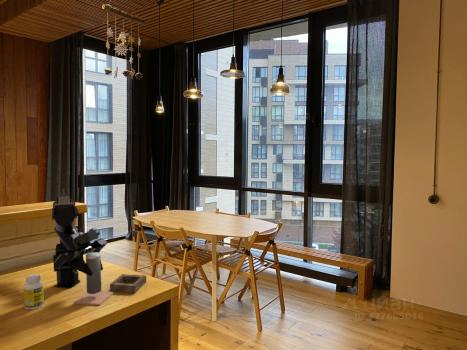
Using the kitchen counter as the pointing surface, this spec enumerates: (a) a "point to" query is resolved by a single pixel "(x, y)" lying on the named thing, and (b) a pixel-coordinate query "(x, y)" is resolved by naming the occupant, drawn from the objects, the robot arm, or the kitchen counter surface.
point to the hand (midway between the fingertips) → (96, 272)
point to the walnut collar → (131, 288)
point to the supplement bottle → (33, 292)
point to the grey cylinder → (93, 273)
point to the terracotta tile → (94, 298)
